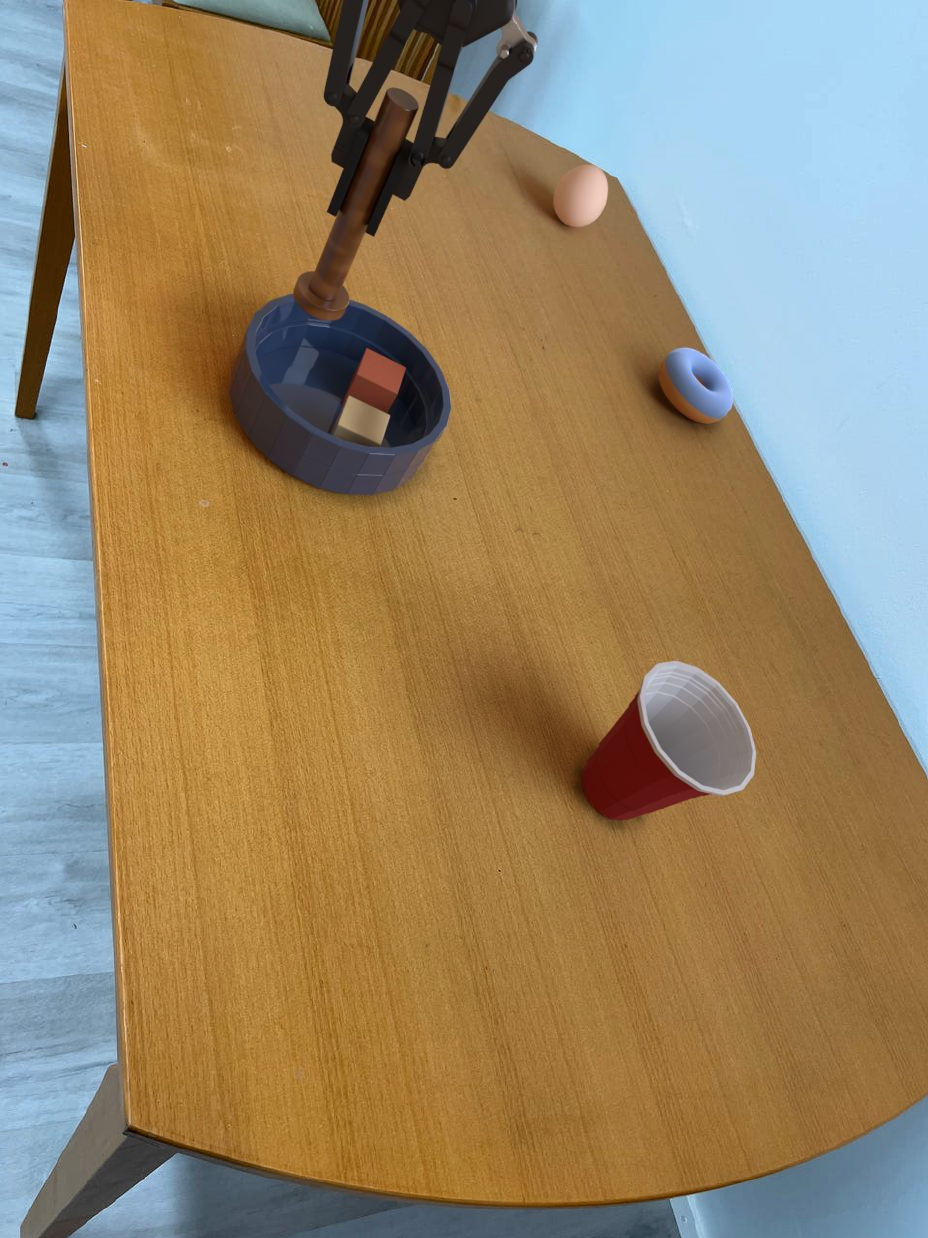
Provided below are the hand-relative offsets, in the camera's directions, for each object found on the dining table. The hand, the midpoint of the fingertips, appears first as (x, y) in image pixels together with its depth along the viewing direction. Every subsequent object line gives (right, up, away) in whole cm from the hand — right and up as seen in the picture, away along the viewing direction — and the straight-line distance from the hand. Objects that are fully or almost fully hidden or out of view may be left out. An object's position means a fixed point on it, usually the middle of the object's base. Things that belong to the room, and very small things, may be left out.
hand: (354, 214), depth 73 cm
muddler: (-4, -4, +6) cm, 9 cm away
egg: (+21, +22, +54) cm, 62 cm away
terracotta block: (-1, -10, +18) cm, 20 cm away
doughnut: (+34, -4, +44) cm, 56 cm away
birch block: (-2, -15, +13) cm, 20 cm away
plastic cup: (+20, -44, +7) cm, 49 cm away
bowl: (-4, -12, +15) cm, 20 cm away
